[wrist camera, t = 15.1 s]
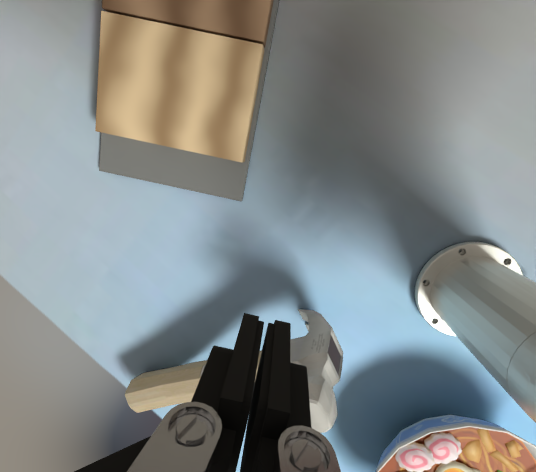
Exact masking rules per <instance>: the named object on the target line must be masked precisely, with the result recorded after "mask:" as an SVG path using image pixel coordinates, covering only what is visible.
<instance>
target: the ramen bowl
mask: <svg viewBox="0 0 536 472" xmlns="http://www.w3.org/2000/svg"><path fill="white" fill-rule="evenodd" d="M376 472H536V446H535V445H533V444H531V443H530V442H528V441H526V440H524V439H522V438H520V437H519V436H517V435H515V434H513V433H511V432H509V431H507V430H506V429H504V428H502V427H500V426H498V425H496V424H493V423H491V422H488V421H485V420H480V419H475V418H469V417H462V416H456V415H444V416H438V417H432V418H426V419H423V420H421V421H419V422H417V423H415V424H413V425H411V426H409V427H407V428H405V429H403V430H401V431H400V432H399V434H398V435H397V436H396V437H395V438H394V439H393V440H392V442H391V443H390V444H389V445H388V446H387V447H386V449H385V450H384V451H383V453H382V455H381V457H380V459H379V462H378V466H377V469H376Z"/></svg>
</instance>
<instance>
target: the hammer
mask: <svg viewBox="0 0 536 472" xmlns="http://www.w3.org/2000/svg"><path fill="white" fill-rule="evenodd" d="M298 311H299V313H300V315H301V317H302V319H303V320H305V321H307V322H309V324H305V325H306V327H307V329H308V331H309V333H308V334H307V335H306V336H304V337H300V338H295V339H291V340H290V363H295V364H299V365H304V366H306V367H307V374H308V388H309V401H310V414H311V427H312V429H314V430H316V431H318V432H320V433H322V432H327V431H328V430H329V429H331V428H332V426H333V424H334V422H335V420H336V417H337V405H336V399H335V394H334V392H333V386H334V385H335V384H337V383H338V382H339V380H340V377H341V370H342V361H343V351H342V349H341V346H340V344H339V342H338V340H337V338H336V336H335V334H334V331H333V329H332V327H331V326H330V325H329V323H328V322H327V321H326V320H325V319H324V317H323V316H322V315H321V314H319V313H318V312H316V311H314V310H304V309H299V310H298ZM261 353H262V351H259V357H258V364H257V370H258V366H259V362H260V357H261ZM206 363H207V360H205V361H199V362H193V363H189V364H185V365H181V366H176V367H171V368H166V369H161V370H156V371H151V372H146V373H142V374H141V375H139V376H137V377H136V378H134V379H132V380H131V382H130V384H129V386H128V388H127V390H126V393H125V396H126V399H127V402H128V404H129V406H130V408H132V409H133V410H134V411H136V412H137V413H138V412H143V411H147V410H152V409H156V408H161V407H165V406H169V405H174V404H180V403H186V402H191V401H192V398H193V395H194V393H195V390H196V388H197V385H198V383H199V380H200V378H201V375H202V373H203V370H204V368H205V365H206ZM257 370H256V375H257ZM255 379H256V377H255Z"/></svg>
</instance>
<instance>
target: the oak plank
mask: <svg viewBox="0 0 536 472" xmlns="http://www.w3.org/2000/svg"><path fill="white" fill-rule="evenodd" d="M263 56H264V47H263V44H258V43H253V42H249V41H244V40H239V39H234V38H230V37H225V36H220V35H215V34H210V33H206V32H201V31H196V30H191V29H187V28H182V27H177V26H172V25H167V24H163V23H158V22H153V21H148V20H144V19H139V18H134V17H129V16H124V15H120V14H115V13H110V12H105V11H101V28H100V49H99V69H98V90H97V111H96V131H97V132H102V133H107V134H111V135H116V136H121V137H125V138H130V139H135V140H139V141H144V142H149V143H153V144H158V145H163V146H167V147H172V148H176V149H181V150H186V151H190V152H195V153H200V154H204V155H209V156H214V157H218V158H223V159H228V160H232V161H237V162H245V156H246V151H247V145H248V140H249V134H250V128H251V123H252V117H253V112H254V106H255V101H256V95H257V89H258V84H259V78H260V73H261V67H262V61H263Z"/></svg>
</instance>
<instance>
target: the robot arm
mask: <svg viewBox="0 0 536 472" xmlns="http://www.w3.org/2000/svg"><path fill="white" fill-rule="evenodd" d="M459 250H460V251H459ZM424 280H425V281H424ZM423 281H424V282H423ZM415 301H416V305H417V307H418V310H419V312H420V314H421V315H422V316H423V317H424V319H425V320H426V321H427V322H428V323H429V324H430V325H431V326H432V327H433V328H435V329H436V330H438V331H440V332H442V333H445V334H447V335H452V336H457V337H458V338H459V340H460V341H461V342H462V343H463V344H464V345H465V346H466V347H467V348H468V350H469V351H470V352H471V353H472V354H473V355H474V356H475V357H476V358H477V360H478V361H479V362H480V363H481V364H482V365H483V366H484V367H485V368H486V370H487V371H488V372H489V373H490V374H491V375H492V376H493V377H494V378H495V380H496V381H497V382H498V383H499V384H500V385H501V386H502V387H503V388H504V390H505V391H506V392H507V393H508V394H509V395H510V396H511V397H512V398H513V399H514V401H515V402H516V403H517V404H518V405H519V406H520V407H521V408H522V409H523V410H524V411H525V413H526V414H527V415H528V416H529V417H530V418H531V419H533V420H534V421H535V422H536V282H534V281H532V280H530V279H528V278H526V277H525V276H523V274H522V271H521V269H520V266H519V265H518V263H517V262H516V260H515V259H514V258H513V257H512V256H511V255H510V254H509V253H507V252H506V251H504V250H502V249H500V248H499V247H496V246H494V245H491V244H488V243H483V242H464V243H458V244H455V245H452V246H449V247H447V248H445V249H443V250H442V251H440V252H439V253H437V254H436V255H434V256H433V257H432V258H431V259H430V260H429V261H428V262H427V263H426V264H425V266H424V267H423V269H422V270H421V272H420V274H419V276H418V278H417V281H416V286H415ZM258 319H259V316H255V315H250V314H245V313H244V316H243V319H242V323H241V326H240V330H239V333H238V337H237V340H236V344H235V347H234V350H232V349H227V348H223V347H218V346H213V348H212V350H211V353H210V355H209V358H208V360H207V363H206V365H205V368H204V370H203V373H202V375H201V378H200V380H199V383H198V385H197V388H196V390H195V393H194V395H193V398H192V401H191V402H186V403H182V404H179V405H177V406H176V407H174V408H172V409H171V410H170V411H169V412H168V413H167V414H166V415H165V417H164V418H163V420H162V421H161V423H160V424H159V425H158V427H157V429H156V430H155V431H154V433H153V434H152V436H150V437H148V438H146V439H144V440H141V441H139V442H137V443H135V444H133V445H131V446H128V447H126V448H124V449H122V450H120V451H118V452H116V453H113V454H111V455H109V456H107V457H105V458H103V459H100V460H98V461H96V462H94V463H92V464H90V465H88V466H86V467H83V468H81V469H79V470H77V471H75V472H235V471H236V467H237V463H238V459H239V454H240V450H241V446H242V442H243V437H244V433H245V429H246V424H247V420H248V424H247V431H246V437H245V443H244V450H243V456H242V462H241V469H240V472H341V470H340V467H339V464H338V460H337V457H336V454H335V451H334V449H333V447H332V445H331V444H330V442H329V441H328V440H327V439H326V437H324V436H323V435H322V434H321V433H320V432H318V431H316V430H314V429H312V427H311V414H310V401H309V388H308V374H307V367H306V366H304V365H299V364H295V363H290V323H286V322H282V321H277V320H275V322H274V324H272V323H268V327H267V332H266V336H265V340H264V345H263V349H262V353H261V357H260V362H259V366H258V370H257V364H258V357H259V351H260V344H261V338H262V332H263V325H264V322H263V321H258ZM256 370H257V375H256ZM255 377H256V379H255ZM249 411H250V412H249ZM248 416H249V418H248Z"/></svg>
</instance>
